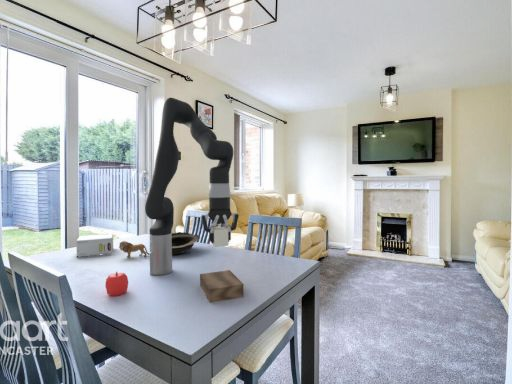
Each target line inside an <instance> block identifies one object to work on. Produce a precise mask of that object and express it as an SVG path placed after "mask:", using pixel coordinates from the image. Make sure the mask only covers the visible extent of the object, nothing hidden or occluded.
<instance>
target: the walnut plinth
mask: <svg viewBox="0 0 512 384" xmlns="http://www.w3.org/2000/svg"><path fill="white" fill-rule="evenodd" d="M199 284H200V285H199V287H200V288H201V290H202V292H203V293H205V294H204V295H205V297H206V299H207V301H208V303H209V304H211V303H217V302H222V301H228V300H234V299H239V298H244V283H243V282H242V281H241V280H240V278H239V277H237V276H236V274H234V273H233V272H232V271H231V269H230V270H229V269H227V270H220V271H214V272H213V271H212V272H206V273H200V274H199Z"/></svg>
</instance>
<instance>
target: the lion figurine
mask: <svg viewBox="0 0 512 384" xmlns="http://www.w3.org/2000/svg"><path fill="white" fill-rule="evenodd" d="M118 248H119V250H120V251H122V252H124V253H127V256H126V258H127V259H131V254H132V253H136V252H138V251H140V254H139V255H138V256H139V257H141V256H143V257H144V258H146V257H147V255H149V256H150V252H148V250H147V248H146V246H145V245H144V244H142V243H139V244H132V243H131V242H128V241H126V240H122V241H120V242H119V246H118Z"/></svg>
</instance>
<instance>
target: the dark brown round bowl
mask: <svg viewBox="0 0 512 384" xmlns="http://www.w3.org/2000/svg"><path fill="white" fill-rule="evenodd" d="M200 239H201V238H200V236H199V234H198V233H197V234H193V233H189V232H181V231H178V232H172V256H175V255H177V254H182V253H183V252H184V253H185V252H186V251H188V250H190V249H192V248H193V247H194V245H195V243H196V242H198V241H199V240H200Z"/></svg>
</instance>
